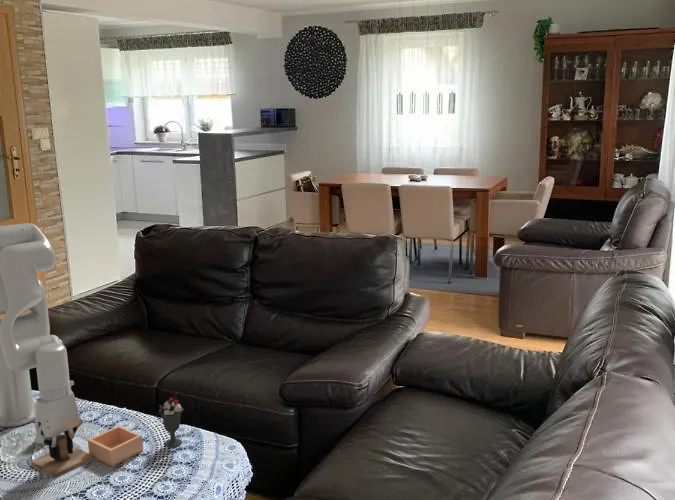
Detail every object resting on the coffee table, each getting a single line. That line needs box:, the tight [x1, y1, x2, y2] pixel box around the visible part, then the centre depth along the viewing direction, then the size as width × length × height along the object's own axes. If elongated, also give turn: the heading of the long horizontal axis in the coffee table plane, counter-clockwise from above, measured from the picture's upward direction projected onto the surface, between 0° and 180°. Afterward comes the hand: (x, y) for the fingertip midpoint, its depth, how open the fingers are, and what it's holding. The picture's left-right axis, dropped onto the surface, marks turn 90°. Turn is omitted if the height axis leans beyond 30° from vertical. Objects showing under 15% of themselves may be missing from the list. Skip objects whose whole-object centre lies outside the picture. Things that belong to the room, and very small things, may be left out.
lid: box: [31, 434, 93, 478], centre depth 178 cm, size 11×11×7 cm
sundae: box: [157, 391, 184, 449], centre depth 187 cm, size 7×7×15 cm
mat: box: [28, 458, 96, 480], centre depth 179 cm, size 12×12×1 cm
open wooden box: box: [87, 425, 144, 468], centre depth 183 cm, size 10×10×5 cm
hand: (61, 454), depth 179 cm, fingers closed on lid, 3 cm apart
